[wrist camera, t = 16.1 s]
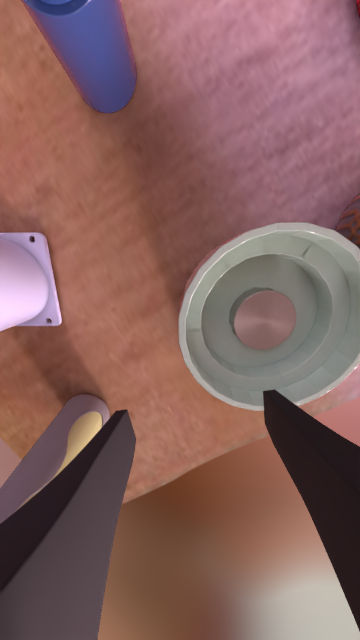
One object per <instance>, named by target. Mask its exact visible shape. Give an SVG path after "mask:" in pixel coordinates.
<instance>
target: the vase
mask: <svg viewBox="0 0 360 640" xmlns="http://www.w3.org/2000/svg"><path fill="white" fill-rule="evenodd" d="M336 232H338V233H339V234H341V235H342V236H344V237H345V238H346V239H348V240H349V241H351V242H352V243H353V244H355V245H356V246H357V247H358V248H359V249H360V193H359V194H358V195H357V196H356V197H355V198H354V199H353V200H352V201H351V203H350V204H349V205H348V206H347V207H346V209H345V210H344V212H343V214H342V216H341V218H340V220H339V223H338V225H337V229H336Z"/></svg>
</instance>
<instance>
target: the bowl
mask: <svg viewBox="0 0 360 640" xmlns="http://www.w3.org/2000/svg"><path fill="white" fill-rule="evenodd" d="M255 287H257V288H266V287H268V288H271V289H274V291H277V292H280V293H283V294H284V295H285V296H287V297H288V298H289V299H290V300H291V302H292V303H293V305H294V307H295V310H296V323H295V326H294V329H293V331H292V333H291V334H290V335H289V337H288V338H287V339H286V340H285V341H284V342H282V343H281V344H279V345H277V346H275V347H273V348H269V349H254V348H251V347H249V346H247V345H245V344H244V343H242V342H241V341H240V339H239V338H238V337H237V335H236V336H235V334H234V333H233V331H232V330H233V329H232V327H231V325H230V322H229V315H230V310H231V307H232V305H233V303H234V302H235V299H237V298H238V297H239V296H240V295H241V294H243V293H244V291H245V292H246V291H248V290H250V289H253V288H255ZM179 344H180V348H181V351H182V355H183V358H184V361H185V363H186V366H187V367H188V369H189V370H190V372H191V373H192V375H193V376H194V378H195V380H196V381H197V382H198V383H199V384H200V385H201V386H202V387H203V388H205V389H206V390H207V391H208V392H209V393H210V394H211V395H213V396H214V397H216V398H218V399H220V400H222V401H224V402H226V403H228V404H230V405H233V406H236V407H240V408H245V409H249V410H254V411H264V401H263V391H267V390H274V389H275V390H276V391H278V392H279V393H280V394H282V395H283V396H284V397H286V398H287V399H288V400H290V401H291V402H292V403H294V404H295V405H296V406H300V405H303V404H305V403H307V402H310V401H312V400H314V399H317V398H319V397H321V396H323V395H324V394H326V393H327V392H329V391H330V390H331V389H333V388H334V387H336V386H337V385H339V384H340V383H341V382H343V381H344V379H345V378H346V377H347V376H348V375H349V374H350V373H351V372H352V371H353V370H354V369H355V368H356V367H357V366H358V365H359V363H360V249H359V248H358V247H357V246H356V245H355V244H353V243H352V242H351V241H349V240H348V239H346V238H345V237H344V236H342V235H341V234H339V233H338V232H336V231H334V230H332V229H328V228H325V227H322V226H318V225H315V224H312V223H307V222H278V223H273V224H270V225H267V226H263V227H260V228H256V229H253V230H249V231H247V232H244V233H242V234H239V235H237V236H235V237H232V238H231V239H229V240H227V241H226V242H224V243H222V244H221V245H219V246H217V247H216V248H214V249H213V250H211V251H210V252H209V253H208V254H207V255H206V256H205V257H204V258H203V259H202V260H201V261H200V262H199V264H198V265H197V266H196V267H195V268H194V270H193V272H192V274H191V275H190V277H189V279H188V281H187V282H186V284H185V287H184V290H183V294H182V298H181V301H180V306H179Z"/></svg>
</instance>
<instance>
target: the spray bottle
mask: <svg viewBox="0 0 360 640" xmlns="http://www.w3.org/2000/svg"><path fill="white" fill-rule="evenodd" d="M109 417H110V415H109V410H108V407H107V406H106V404H105V403H104V402H103V401H102V400H101V399H99V398H97V397H95V396H93V395H86V394H84V395H78V396H75V397H73V398H71V399H70V400H69V401H68V402H67V403H66V404H65V405H64V407H63V408H62V409H61V411H60V412H59V413H58V415H57V416H56V417H55V418H54V420H53V421H52V422H51V424H50V425H49V426H48V427H47V429H46V430H45V431H44V433H43V434H42V435H41V436H40V438H39V439H38V440H37V442H36V443H35V444H34V446H33V447H32V448H31V449H30V451H29V452H28V453H27V455H26V456H25V457H24V458H23V460H22V461H21V462H20V464H19V465H18V466H17V467H16V469H15V470H14V471H13V473H12V474H11V475H10V477H9V478H8V479H7V480H6V482H5V483H4V484H3V486H2V487H1V488H0V524H1V523H2V522H3V521H4V520H6V519H7V518H8V517H9V516H11V515H12V514H13V513H14V512H16V511H17V510H18V509H19V508H20V507H22V506H23V505H24V504H25V503H26V502H27V501H29V500H30V499H31V498H32V497H33V496H35V495H36V494H37V493H38V492H39V491H40V490H42V489H43V488H44V487H45V486H46V485H47V484H48V483H49V482H50V481H51V480H52V479H54V478H55V477H56V476H57V475H58V474H59V473H60V472H61V471H62V470H63V469H64V468H65V467H66V466H67V465H68V464H69V463H70V462H71V461H72V460H73V459H74V458H75V457H76V456H77V454H78V453H79V452H80V451H81V450H82V449H83V448H84V447H85V446H86V445H87V444H88V443H89V442H90V440H91V439H92V438H93V437H94V436H95V435H96V434H97V432H98V431H99V430H100V429H101V428H102V427H103V426H104V424H105V423H106V422H107V421H108V420H109Z"/></svg>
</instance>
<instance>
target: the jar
mask: <svg viewBox="0 0 360 640" xmlns="http://www.w3.org/2000/svg"><path fill="white" fill-rule="evenodd" d="M21 2H22V3H23V5H24V6H25V8H26V10H27V11H28V13H29V14H30V16H31V18H32V19H33V21H34V22H35V24H36V26H37V27H38V29H39V30H40V32H41V34H42V35H43V37H44V38H45V40H46V42H47V43H48V45H49V46H50V48H51V49H52V51H53V53H54V54H55V56H56V57H57V59H58V61H59V62H60V64H61V65H62V67H63V69H64V70H65V72H66V73H67V75H68V77H69V78H70V80H71V81H72V83H73V85H74V86H75V88H76V89H77V91H78V93H79V94H80V96H81V97H82V99H83V100H84V101H85V102H86V103H87V104H88V105H89V106H90V107H92V108H93V109H95V110H97V111H99V112H102V113H113V112H116V111H119V110H120V109H122V108H123V107H125V106H126V104H127V103H128V102H129V101H130V99H131V97H132V95H133V93H134V90H135V86H136V80H137V69H136V63H135V58H134V54H133V50H132V46H131V42H130V38H129V33H128V29H127V25H126V21H125V17H124V13H123V8H122V4H121V0H21Z"/></svg>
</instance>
